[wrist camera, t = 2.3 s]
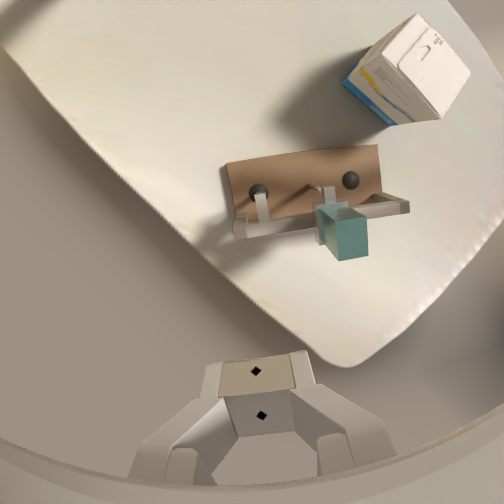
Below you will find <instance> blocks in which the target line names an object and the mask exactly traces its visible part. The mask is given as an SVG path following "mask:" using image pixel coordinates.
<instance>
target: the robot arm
mask: <svg viewBox="0 0 504 504" xmlns="http://www.w3.org/2000/svg"><path fill="white" fill-rule="evenodd" d="M291 431H295V432H296V433H297V434H298V435H299V436H300V437H301V438H302V439H303V440H304V441H305V442H306V443H307V444H308V445H309V446H310V447H311V448H312V449H313V450H315V451H316V452H317V476H316V477H311V478H305V479H299V480H292V481H284V482H276V483H265V484H253V485H229V486H227V485H226V486H218V485H217V483H216V482H215V481H214V479H213V477H212V475H211V474H212V473H213V471H214V470H215V469H216V468H217V466H218V465H219V464H220V462H221V461H222V460H223V458H224V457H225V456H226V454H227V453H228V451H229V450H230V449H231V448H232V446H233V445H234V444H235V442H236V441H237V440H238V438H237V437H247V436H256V435H264V434H273V433H282V432H291ZM0 504H504V403H503V404H501V405H500V406H498V407H497V408H495V409H493V410H492V411H490V412H488V413H487V414H485V415H483V416H482V417H480V418H478V419H476V420H475V421H473V422H471V423H469V424H467V425H465V426H463V427H461V428H460V429H457V430H455V431H454V432H451V433H449V434H447V435H445V436H443V437H441V438H438V439H436V440H434V441H432V442H429V443H427V444H425V445H423V446H420V447H417V448H415V449H412V450H410V451H407V452H404V453H401V454H399V455H397V453H396V451H395V449H394V446H393V444H392V442H391V439H390V437H389V435H388V432H387V430H386V428H385V425H384V423H383V421H382V420H381V419H379V418H377V417H376V416H374V415H372V414H370V413H369V412H367V411H365V410H363V409H362V408H360V407H358V406H357V405H355V404H353V403H351V402H350V401H348V400H347V399H345V398H343V397H342V396H340V395H338V394H336V393H335V392H333V391H332V390H330V389H328V388H327V387H325V386H324V385H322V384H317V385H316V383H315V379H314V376H313V372H312V369H311V364H310V361H309V357H308V354H307V351H306V350H302V351H298V352H293V353H289V354H285V355H279V356H272V357H266V358H259V359H248V360H238V361H227V362H216V363H208V364H207V365H206V367H205V372H204V376H203V381H202V385H201V390H200V394H199V399H193V400H192V401H191V402H190V403H189V404H188V405H186V406H185V407H184V408H183V409H182V410H181V411H180V412H178V413H177V414H176V415H175V416H174V417H172V418H171V419H170V420H169V421H168V422H166V423H165V424H164V425H163V426H162V427H160V428H159V429H158V430H157V431H155V432H154V433H153V434H152V435H150V436H149V437H148V438H147V439H145V440H144V441H143V442H142V443H140V444H139V447H138V449H137V452H136V455H135V458H134V461H133V463H132V466H131V469H130V473H129V475H128V478H125V477H120V476H114V475H109V474H105V473H100V472H96V471H92V470H88V469H84V468H80V467H77V466H73V465H70V464H67V463H63V462H60V461H57V460H54V459H51V458H48V457H45V456H43V455H40V454H37V453H35V452H32V451H29V450H27V449H25V448H22V447H20V446H17V445H15V444H13V443H11V442H8V441H6V440H4V439H2V438H0Z"/></svg>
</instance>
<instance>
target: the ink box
mask: <svg viewBox="0 0 504 504" xmlns="http://www.w3.org/2000/svg"><path fill="white" fill-rule="evenodd" d="M470 74H471V72H470V71H469V69H468V68H467V66H466V65H465V64H464V63H463V61H462V60H461V59H460V57H459V56H458V55H457V54H456V53H455V51H454V50H453V49H452V48H451V47H450V46H449V45H448V43H447V42H446V41H445V40H444V39H443V38H442V37H441V36H440V35H439V34H438V33H437V32H436V31H435V30H434V29H433V28H432V27H431V26H430V25H429V24H428V23H427V22H426V21H425V20H424V19H423V18H422V17H421V16H420V15H419V14H418V13H416V14H414V15H412V16H411V17H410V18H408V19H407V20H405V21H404V22H403V23H401V24H400V25H398V26H397V27H396V28H395V29H393V30H392V31H391V32H389V33H388V34H387V35H385V36H384V37H383V38H381V39H380V40H379V41H378V42H376V43H375V44H374V45H373V46H372V47H371V48H370V49H369V50H368V52H367V53H366V54H365V55H364V56H363V57H362V59H361V60H360V61H359V62H358V64H357V65H356V66H355V67H354V69H353V70H352V71H351V72H350V74H349V75H348V76H347V77H346V78H345V79H344V80H343V81H342V85H343V86H345V87H346V88H347V89H348V90H349V91H351V92H352V93H353V94H354V95H355V96H356V97H357V98H359V99H360V100H361V101H362V102H363V103H364V104H365V105H366V106H367V107H369V108H370V109H371V110H372V111H373V112H374V113H375V114H376V115H377V116H378V117H380V118H381V119H382V120H383V121H384V122H385V123H386V124H388V125H389V126H394V125H400V124H406V123H413V122H420V121H428V120H437V119H441V118H442V117H443V115H444V114H445V112H446V111H447V109H448V108H449V106H450V105H451V103H452V102H453V100H454V99H455V97H456V96H457V94H458V93H459V91H460V90H461V88H462V87H463V85H464V83H465V82H466V80H467V79H468V77H469V75H470Z"/></svg>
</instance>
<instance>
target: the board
mask: <svg viewBox="0 0 504 504" xmlns="http://www.w3.org/2000/svg"><path fill="white" fill-rule="evenodd" d="M226 164H227V169H228V175H229V180H230V185H231V191H232V196H233V201H234V207H235V212H236V215H235V219H234V223H233V227H232V229H233V234H234V239H235V240H240V239H245V238H251V237H257V236H263V235H270V234H276V233H282V232H288V231H294V230H300V229H307V228H313V227H314V219H313V211H312V203H313V202H320V201H323V199H322V195H321V194H319V193H317V192H316V191H314V190H312V189H310V188H309V187H308V185H309V183H314V184H316V185H318V186H329V185H332V186H335V195H336V199H342V198H343V199H345V200H347V201H348V207H350V208H352V209H354V210H356V211H357V212H359V213H361V214H363V215H365V216H366V218H367V219H371V218H378V217H384V216H391V215H398V214H405V213H410V206H409V201H407V200H404V199H401V198H398V197H395V196H392V195H389V194H386V193H383V192H382V185H381V174H380V165H379V157H378V149H377V145H363V146H350V147H339V148H329V149H320V150H311V151H303V152H295V153H287V154H280V155H273V156H267V157H261V158H254V159H248V160H243V161H237V162H232V163H226Z"/></svg>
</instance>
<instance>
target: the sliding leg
mask: <svg viewBox="0 0 504 504" xmlns="http://www.w3.org/2000/svg"><path fill="white" fill-rule="evenodd" d="M308 187H309V188H310V189H312V190H314V191H316V192H317V193H319V194H321V195H322V199H323V201H320V202H313V203H312V211H313V219H314V228H315V236H316V241H317V242H318V244H319V245H326V246H327V248H328V249H329V250H330V251H331V253H332V254H333V255H334V256H335V257H336V259H337V260H338V261H342V260H348V259H354V258H359V257H364V256H368V235H367V218H366V216H365V215H363V214H361V213H359V212H357V211H356V210H354V209H352V208H350V207H348V201H347V200H345V199H343V198H342V199H336V195H335V186H332V185H329V186H318V185H316V184H314V183H309V185H308Z"/></svg>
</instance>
